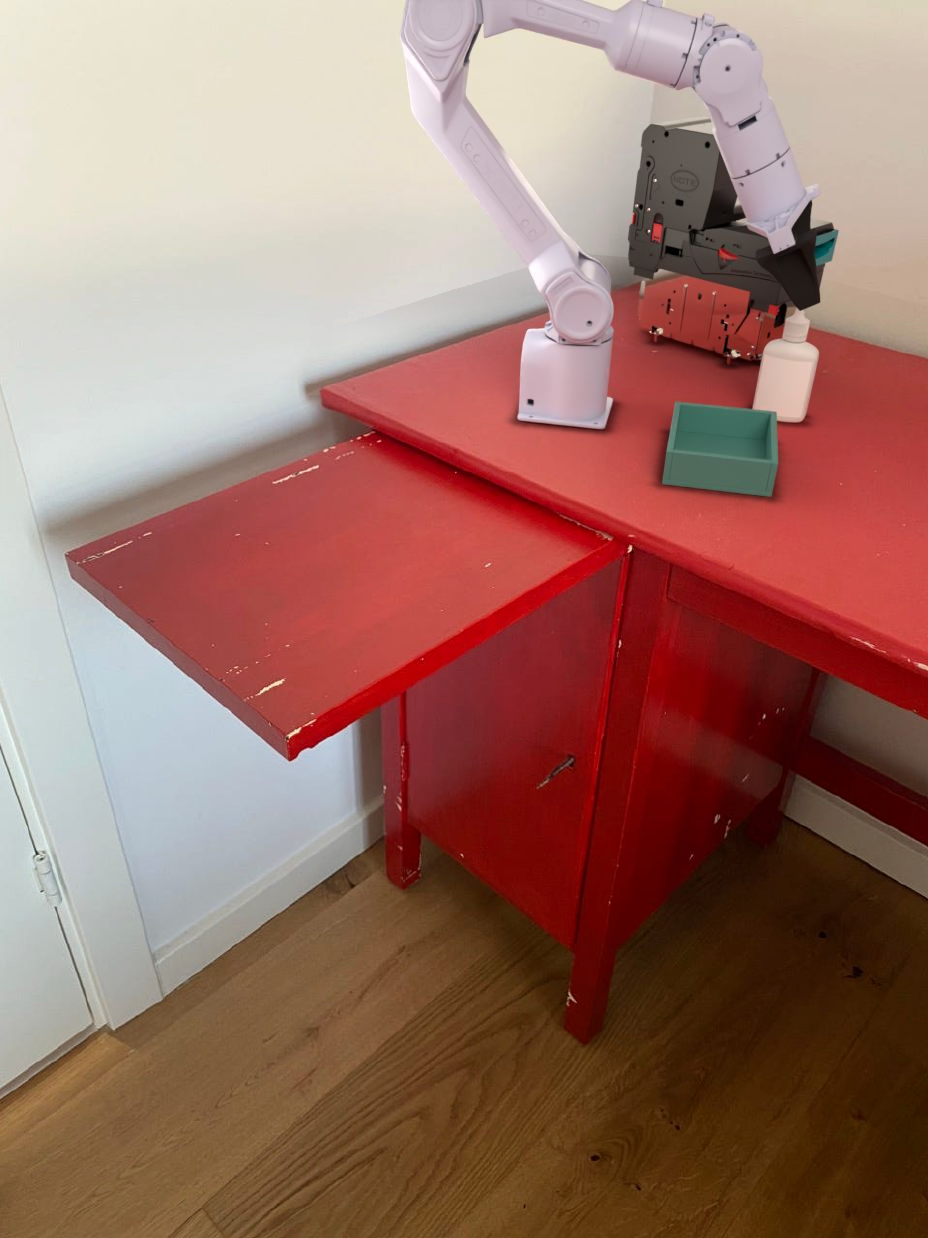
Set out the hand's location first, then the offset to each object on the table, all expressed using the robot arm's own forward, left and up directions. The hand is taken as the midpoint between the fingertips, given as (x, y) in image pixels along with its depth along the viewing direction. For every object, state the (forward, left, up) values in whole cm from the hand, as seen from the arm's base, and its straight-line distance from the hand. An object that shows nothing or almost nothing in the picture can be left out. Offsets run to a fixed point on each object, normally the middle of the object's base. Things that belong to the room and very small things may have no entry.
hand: (808, 290), depth 97 cm
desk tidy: (-6, -12, -14) cm, 19 cm away
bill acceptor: (-8, +23, -14) cm, 28 cm away
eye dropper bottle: (0, +2, -14) cm, 14 cm away
